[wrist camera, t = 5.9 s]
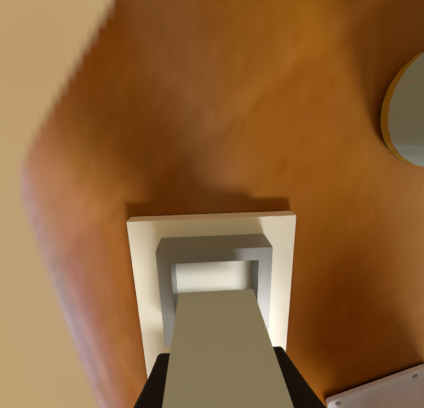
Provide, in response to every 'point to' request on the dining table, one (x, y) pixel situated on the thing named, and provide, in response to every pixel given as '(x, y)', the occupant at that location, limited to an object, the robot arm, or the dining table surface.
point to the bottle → (405, 113)
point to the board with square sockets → (210, 267)
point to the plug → (222, 354)
